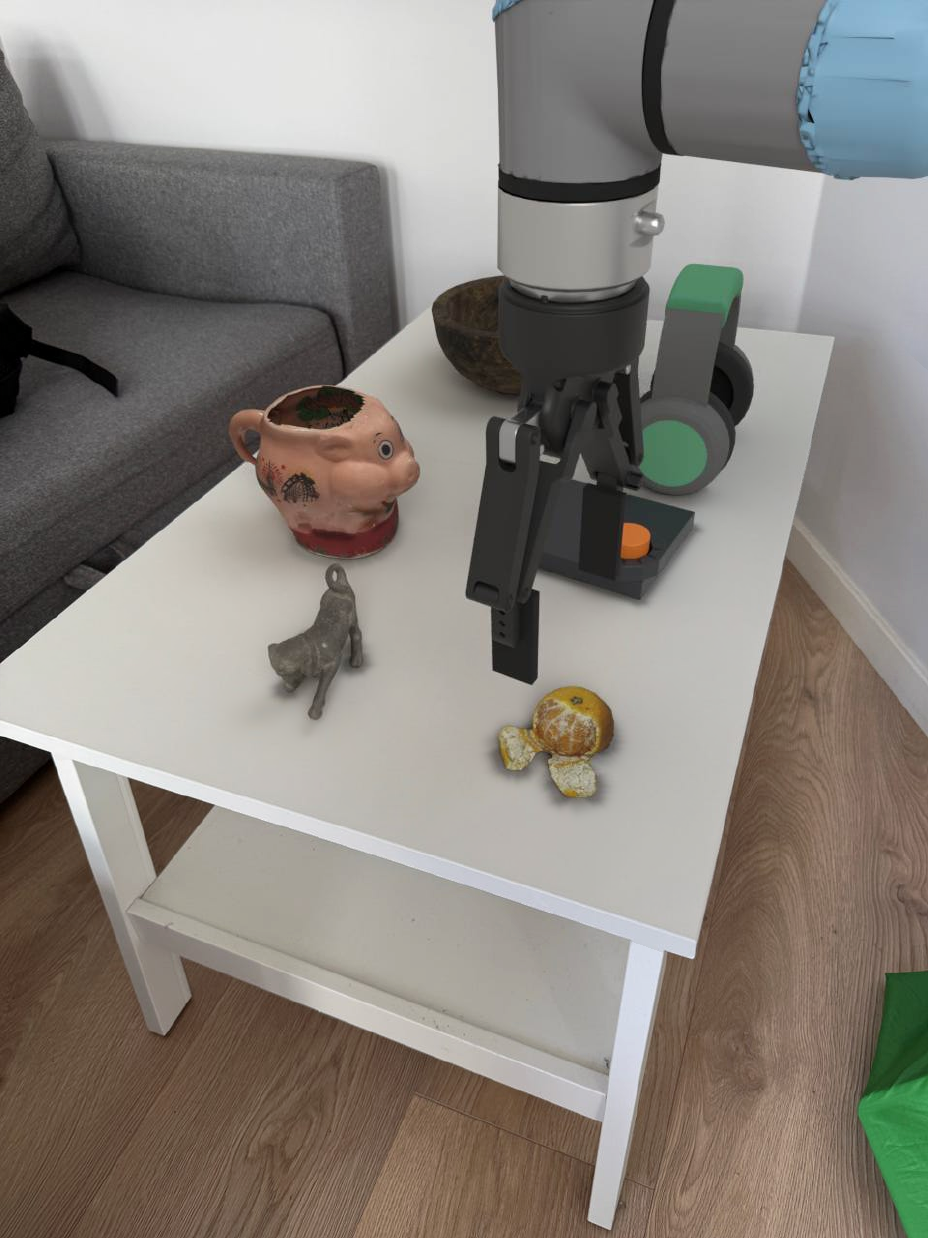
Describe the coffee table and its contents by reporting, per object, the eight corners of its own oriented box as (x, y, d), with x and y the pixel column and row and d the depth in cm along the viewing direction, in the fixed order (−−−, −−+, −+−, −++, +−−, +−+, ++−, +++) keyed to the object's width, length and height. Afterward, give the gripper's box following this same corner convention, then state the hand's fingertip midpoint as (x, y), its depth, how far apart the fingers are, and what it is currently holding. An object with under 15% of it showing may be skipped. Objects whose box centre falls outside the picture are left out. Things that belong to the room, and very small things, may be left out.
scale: (700, 530, 88) (705, 499, 86) (644, 607, 79) (648, 574, 77) (554, 490, 95) (555, 460, 93) (487, 557, 86) (486, 525, 84)
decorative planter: (211, 550, 88) (177, 418, 79) (271, 488, 97) (247, 362, 88) (403, 585, 83) (390, 447, 74) (448, 516, 92) (441, 385, 83)
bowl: (560, 437, 104) (563, 352, 97) (402, 398, 113) (395, 319, 107) (636, 367, 118) (643, 289, 112) (490, 337, 127) (489, 264, 121)
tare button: (655, 543, 81) (656, 529, 80) (639, 564, 79) (640, 549, 78) (617, 533, 83) (618, 518, 82) (600, 553, 80) (601, 538, 79)
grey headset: (654, 413, 107) (673, 236, 95) (749, 428, 104) (782, 246, 91) (611, 493, 94) (626, 298, 81) (718, 512, 90) (752, 312, 78)
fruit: (485, 756, 66) (484, 720, 64) (547, 691, 71) (548, 655, 69) (584, 808, 62) (587, 772, 60) (642, 735, 67) (647, 699, 65)
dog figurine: (317, 623, 79) (305, 552, 74) (380, 634, 77) (371, 562, 73) (254, 720, 70) (236, 645, 65) (324, 733, 68) (310, 659, 64)
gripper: (527, 380, 36) (523, 760, 50) (726, 221, 51) (681, 545, 65) (372, 346, 39) (408, 712, 53) (604, 206, 55) (585, 517, 68)
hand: (559, 620), depth 59 cm, fingers open, 11 cm apart
